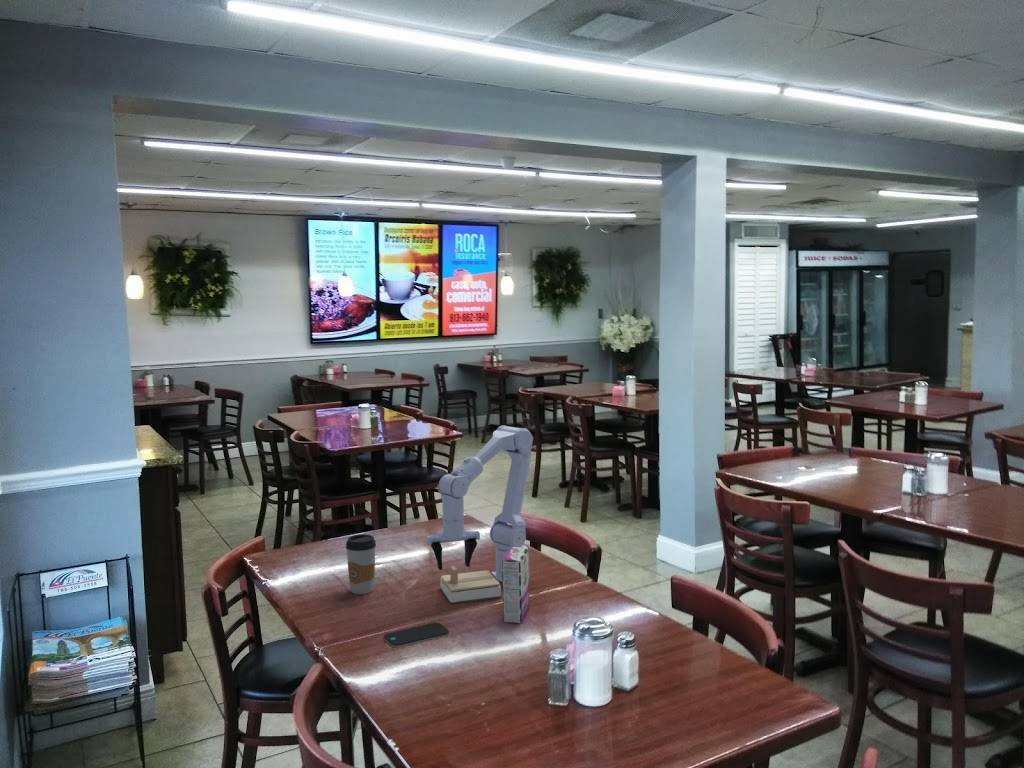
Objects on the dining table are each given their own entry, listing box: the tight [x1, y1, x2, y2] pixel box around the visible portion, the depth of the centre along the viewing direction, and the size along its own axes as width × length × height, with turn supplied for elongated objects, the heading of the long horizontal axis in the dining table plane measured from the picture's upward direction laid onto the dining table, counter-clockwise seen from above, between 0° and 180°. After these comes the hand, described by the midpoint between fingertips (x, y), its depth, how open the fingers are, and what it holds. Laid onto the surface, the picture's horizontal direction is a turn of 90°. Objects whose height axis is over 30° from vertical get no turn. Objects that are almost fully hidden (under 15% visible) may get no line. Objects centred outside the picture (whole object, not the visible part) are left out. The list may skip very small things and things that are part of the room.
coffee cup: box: [345, 534, 377, 595], centre depth 220 cm, size 8×8×15 cm
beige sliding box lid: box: [440, 565, 501, 592], centre depth 217 cm, size 14×12×4 cm
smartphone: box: [383, 622, 450, 648], centre depth 190 cm, size 8×1×15 cm
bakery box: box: [439, 577, 502, 605], centre depth 218 cm, size 14×12×3 cm
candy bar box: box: [502, 546, 530, 624], centre depth 201 cm, size 11×5×16 cm, turn 168°
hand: (453, 567), depth 216 cm, fingers open, 7 cm apart
